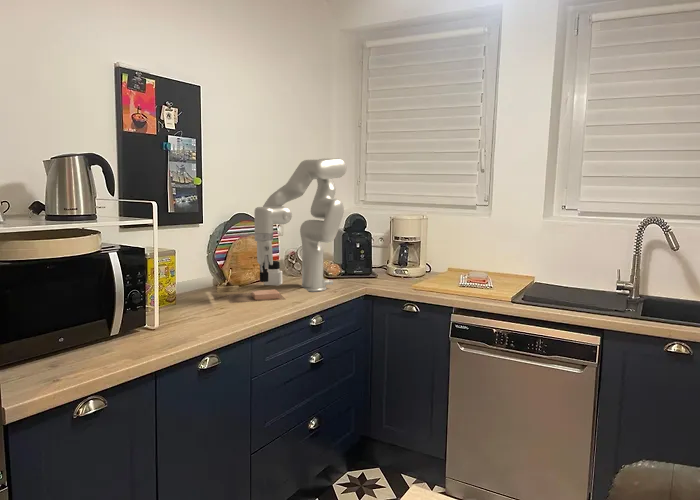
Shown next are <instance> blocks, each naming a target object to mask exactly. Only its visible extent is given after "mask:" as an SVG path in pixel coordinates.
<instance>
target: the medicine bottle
mask: <svg viewBox="0 0 700 500" xmlns="http://www.w3.org/2000/svg"><path fill="white" fill-rule="evenodd" d="M280 268H281V263H280V261H278V260H273V265H270V264H268V282H263V286H277V287H279V286H280V285H282V284H283V270H280Z"/></svg>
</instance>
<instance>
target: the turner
mask: <svg viewBox="0 0 700 500" xmlns="http://www.w3.org/2000/svg"><path fill="white" fill-rule="evenodd" d="M216 292H217V293H232V292H233V293H234V292H240V286H239V285H227V286H216Z"/></svg>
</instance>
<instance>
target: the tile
mask: <svg viewBox="0 0 700 500" xmlns="http://www.w3.org/2000/svg"><path fill="white" fill-rule="evenodd" d="M251 293H252V297H253V298H254V299H255V300H263V299H278V298H280V294H281V293H280V292H279V291H278V290H277V289H260V290H259V289H258V290H251Z"/></svg>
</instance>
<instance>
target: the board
mask: <svg viewBox="0 0 700 500" xmlns="http://www.w3.org/2000/svg"><path fill="white" fill-rule="evenodd" d="M224 295H225V296H226V298H227V300H228V302H229V303H230V304H235V303H236V304H238V303H251V302H252V303H253V302H265V301H267V302H268V301H282V300H286V298H285V297H284V296H283V295H281V293H280V298H278V299H263V300H255V299H254V298H253V297H252V292H245V293H243V292H241V293H225V294H224Z"/></svg>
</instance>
